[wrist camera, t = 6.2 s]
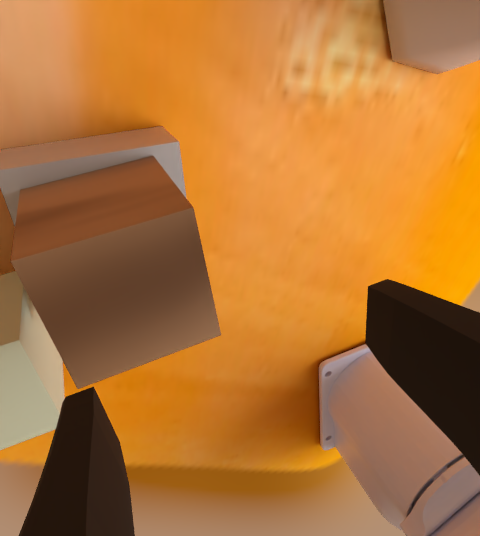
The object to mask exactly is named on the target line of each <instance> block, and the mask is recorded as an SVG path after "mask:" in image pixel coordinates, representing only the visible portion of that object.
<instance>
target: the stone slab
mask: <svg viewBox="0 0 480 536" xmlns="http://www.w3.org/2000/svg"><path fill="white" fill-rule="evenodd" d="M149 156H154V157H155V158H156V160H157V161H158V162H159V163H160V165H161V166H162V167H163V169H164V170H165V171H166V173H167V174H168V175H169V177H170V178H171V179H172V180H173V182H174V183H175V184H176V186H177V187H178V188H179V190H180V191H181V192H182V193H183V195H184V196H185V197H186V192H185V184H184V177H183V169H182V161H181V154H180V146H179V141H178V140H177V139H176V138H175V137H174V136H172V135H171V134H170V133H169V132H168V131H167V130H166V129H165V128H164V127H163V126H158V127H151V128H145V129H138V130H131V131H124V132H117V133H110V134H104V135H97V136H90V137H83V138H76V139H69V140H63V141H56V142H49V143H42V144H35V145H28V146H22V147H15V148H8V149H1V151H0V188H1V191H2V194H3V196H4V199H5V202H6V204H7V207H8V210H9V212H10V215H11V218H12V220H13V223H14V226H15V224H16V216H17V209H18V201H19V194H20V190H21V189H25V188H29V187H33V186H37V185H41V184H45V183H49V182H52V181H56V180H60V179H64V178H68V177H72V176H76V175H80V174H83V173H87V172H91V171H95V170H99V169H103V168H107V167H111V166H114V165H118V164H122V163H126V162H130V161H134V160H138V159H142V158H145V157H149Z"/></svg>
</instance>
